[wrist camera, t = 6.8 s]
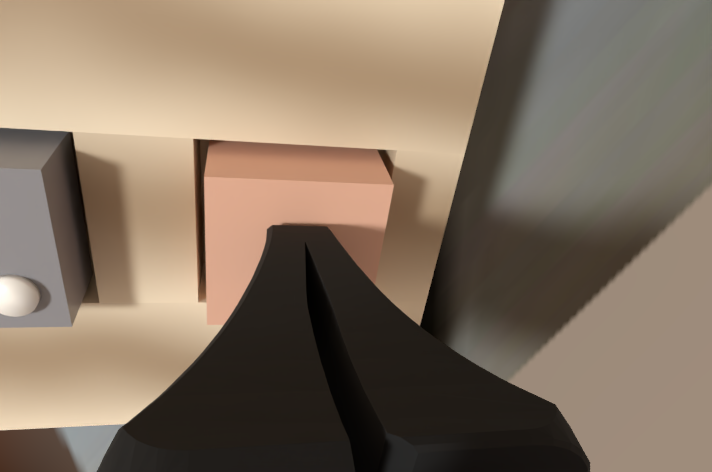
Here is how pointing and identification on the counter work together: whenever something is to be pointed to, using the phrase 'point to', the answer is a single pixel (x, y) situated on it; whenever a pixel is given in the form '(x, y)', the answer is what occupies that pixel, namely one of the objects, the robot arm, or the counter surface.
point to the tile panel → (189, 154)
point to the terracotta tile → (286, 207)
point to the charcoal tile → (40, 230)
